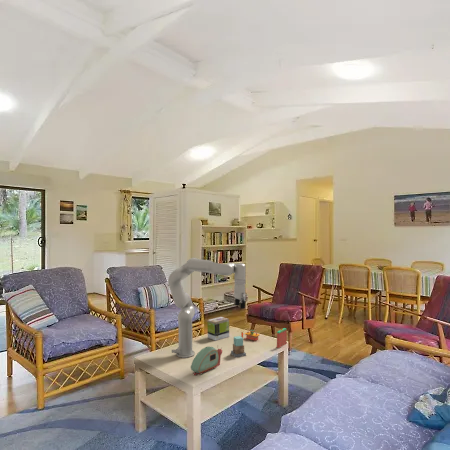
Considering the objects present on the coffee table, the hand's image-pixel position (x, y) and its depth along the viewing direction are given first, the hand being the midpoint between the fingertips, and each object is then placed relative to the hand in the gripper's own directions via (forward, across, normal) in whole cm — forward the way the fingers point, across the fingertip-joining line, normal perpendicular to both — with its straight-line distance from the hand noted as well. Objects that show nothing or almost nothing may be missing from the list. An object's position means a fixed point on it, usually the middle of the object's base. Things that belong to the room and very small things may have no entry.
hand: (240, 306), depth 231 cm
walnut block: (+32, -3, 0) cm, 32 cm away
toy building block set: (+35, -21, +27) cm, 49 cm away
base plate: (+34, -3, 0) cm, 34 cm away
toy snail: (+35, +12, -26) cm, 45 cm away
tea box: (+35, -44, -1) cm, 56 cm away
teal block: (+27, -3, 0) cm, 27 cm away
